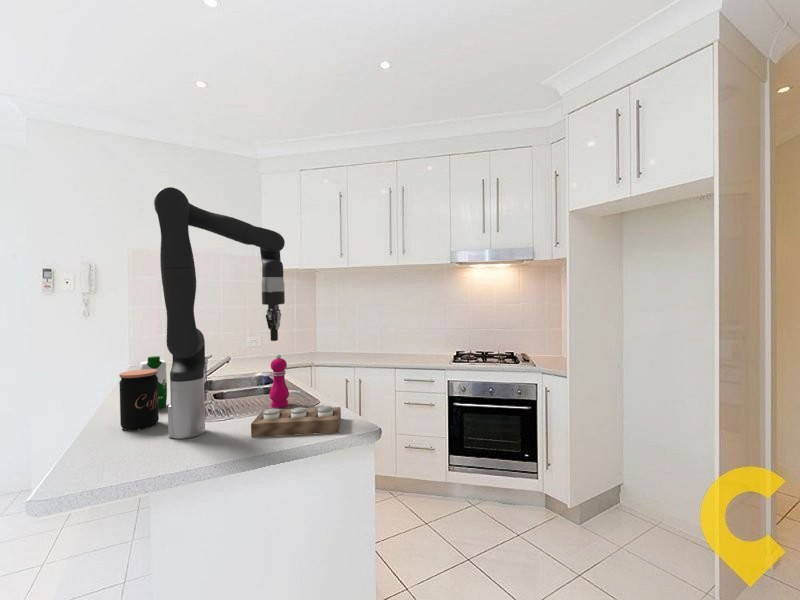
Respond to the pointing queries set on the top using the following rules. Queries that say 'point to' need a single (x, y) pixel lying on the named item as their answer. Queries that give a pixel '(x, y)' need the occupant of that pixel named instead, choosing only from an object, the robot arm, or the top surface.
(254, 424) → the control board
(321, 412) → the knob
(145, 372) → the coffee jar
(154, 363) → the milk carton
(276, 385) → the pepper mill
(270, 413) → the knob
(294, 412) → the middle knob
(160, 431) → the top surface
